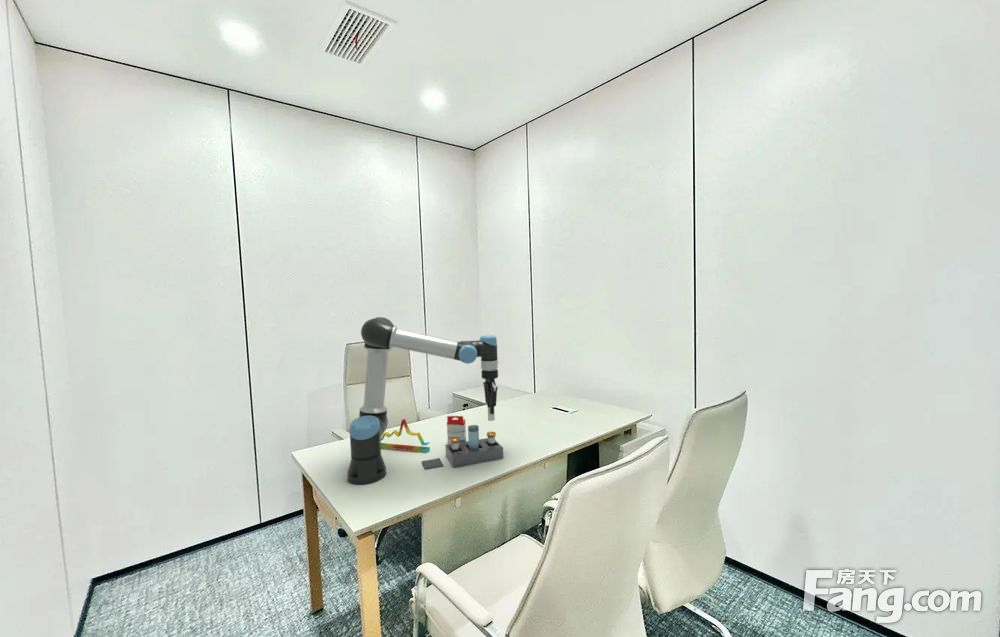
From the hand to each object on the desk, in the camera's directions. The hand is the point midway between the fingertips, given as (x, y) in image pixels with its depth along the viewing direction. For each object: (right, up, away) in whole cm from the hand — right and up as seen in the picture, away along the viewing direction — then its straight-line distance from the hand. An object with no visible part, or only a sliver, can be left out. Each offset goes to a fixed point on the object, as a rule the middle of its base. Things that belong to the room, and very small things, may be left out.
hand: (491, 420), depth 179 cm
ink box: (-17, -16, +14) cm, 28 cm away
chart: (-44, -17, +9) cm, 49 cm away
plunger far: (0, -13, +1) cm, 14 cm away
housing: (-8, -16, -2) cm, 18 cm away
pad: (-25, -17, -9) cm, 32 cm away
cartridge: (-8, -16, -2) cm, 18 cm away
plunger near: (-16, -14, -5) cm, 22 cm away
